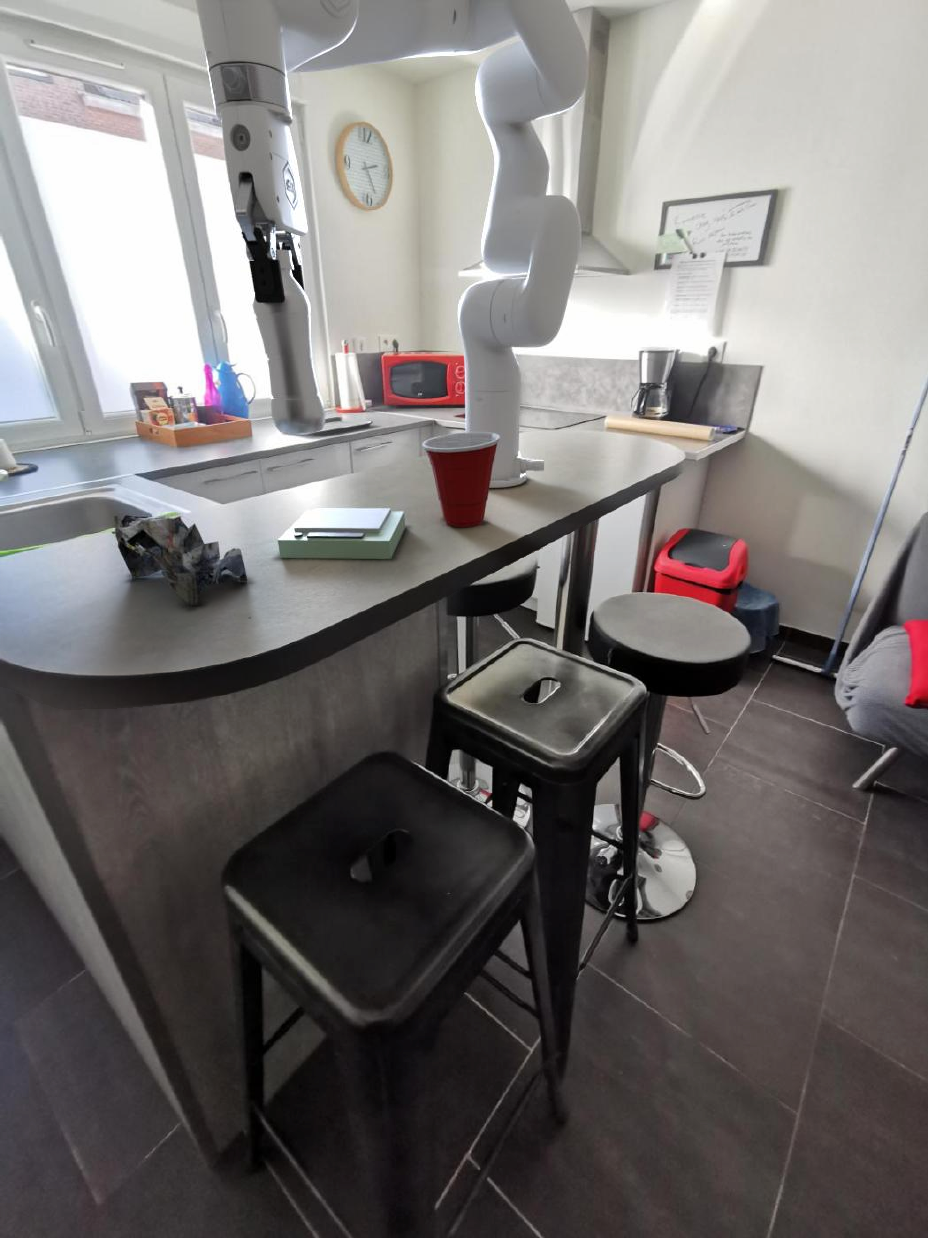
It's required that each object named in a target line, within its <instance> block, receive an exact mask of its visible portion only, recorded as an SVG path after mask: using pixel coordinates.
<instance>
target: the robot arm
mask: <svg viewBox="0 0 928 1238" xmlns="http://www.w3.org/2000/svg"><path fill="white" fill-rule="evenodd" d="M195 3H196V8H197V9H196V10H197V14H198V15H197V16H198V19H199V20H198V21H199V25H200V31H201V37H202V42H203V49H204V55H205V59H206V65H207V72H208V78H209V84H210V90H211V95H212V100H213V106H214V111H215V117H216V119H217V121H220V124H221V134H222V143H223V153H224V159H225V168H226V174H227V175H226V176H227V181H228V188H229V193H230V199H231V204H232V208H233V213H234V216H235V220H236V222H237V223H238V225H239V228H240V230H241V233H240V234H241V235H242V236H241V237H242V239H243V241H244V242H245V254H246V257H247V259H248V263H249V270H250V275H251V280H252V287H253V294H254V293H255V299H256V301H257V302H258V303H282V302H284V301H285V295H284V288H283V281H282V274H281V267H280V261H279V260H272V259H275V250H289V251H290V253H291V258H292V265H293V266H294V270H291V272H292V276H293V277H294V279H295V280H296V281H297V283H298V284H299V285H300V286H301V288H302V289H303V291H304V293H305V294H306V289H305V283H304V276H303V275H304V274H303V267H302V256H301V254H300V249H301V245H300V237H305V236H306V235H307V233H308V223H307V216H306V210H305V204H304V198H303V191H302V183H301V180H300V179H301V178H300V173H299V166H298V162H297V158H296V152H295V147H294V144H293V139H292V135H291V131H290V128H289V127H290V126H291V125H292V124H293V115H292V107H291V106H292V105H291V98H290V91H289V90H290V89H289V81H288V75H287V74H294V73H295V74H296V73H312V72H313V73H314V72H323V71H324V72H325V71H332V70H337V69H338V70H339V69H343V68H350V67H354V66H355V67H356V66H361V65H362V66H363V65H371V64H382V63H388V62H394V61H397V60H401V59H410V58H422V57H438V56H439V57H440V56H441V57H442V56H459V55H471V54H475V53H477V52H480V51H481V52H482V51H484V50H485V49H488V48H490V47H494V46H496V45H498V44H501V43H503V42H506V41H508V40H511V39H513V38H515V37H518V38H519V39H520V40H517V41H515V42H513V43H510V44H508V45H505V46H503V47H501V48H499V49H497V50H495V51H494V52H492V53H490V54H489V55H488V56H487V57H486V58H485V59H484V60H483V61H482V63H480V66H479V68H478V70H477V74H476V79H475V96H476V97H475V99H476V103H477V108H478V112H479V115H480V116H481V119H482V121H483V124H484V126H485V128H486V131H487V134H488V137H489V140H490V143H491V146H492V151H493V156H494V172H493V180H492V185H491V190H490V195H489V201H488V204H487V205H488V206H487V210H486V216H485V220H484V226H483V231H482V237H481V248H480V250H481V251H480V252H481V258H482V261H483V263H484V265H485V267H486V268H487V269H488V270H490V271H491V272H493V273H496V274H500V275H524V274H525V275H526V274H527V276H526V277H506V278H495V279H494V278H493V279H484V280H480V281H478V282H475V283H473V284H472V285H470V286H469V287H467V288H466V290H465V291H464V292H463V294H462V295H461V297H460V300H459V301H458V308H457V321H458V322H457V323H458V329H459V334H460V338H461V345H462V351H463V362H464V363H463V364H464V409H465V410H464V412H465V413H464V415H465V417H464V420H465V423H464V424H465V425H464V426H465V429H464V431H465V433H466V432H489V433H495V434H498V435H500V439H499V442H498V443H497V447H496V452H495V457H494V462H493V467H492V474H491V480H490V487H489V489H500V488H509V487H511V488H512V487H515V486H519V485H522V484H523V483H525V482H526V481H527V471H528V472H529V471H530V472H531V471H533V472H544V471H545V460H544V459H543V460H542V459H537V458H524V457H522V456H521V451H519V450H520V449H519V448H520V421H521V420H520V419H521V392H522V391H521V389H522V388H521V387H522V374H521V368H520V364H519V362H518V358H517V356H516V354H515V351H514V350H513V348H543V347H546V346H547V345H549V344H550V343H552V342H553V341H554V340H555V338H556V337H557V336H558V335H559V332H560V330H561V327H562V325H563V321H564V318H565V313H566V310H567V306H568V303H569V298H570V293H571V289H572V285H573V282H574V281H573V280H574V277H575V272H576V269H577V264H578V259H579V255H580V251H581V250H580V249H581V243H582V223H581V219H580V213H579V211H578V209H577V207H576V205H575V203H574V202H573V201H572V200H571V199H570V198H568V197H567V196H565V195H562V194H548V193H547V192H548V188H549V183H550V176H551V167H550V166H551V165H550V161H549V157H548V154H547V151H546V149H545V147H544V145H543V144H542V142H541V139H540V138H539V135H538V134H537V132H536V130H535V128H534V125H533V123H532V122H533V121H536V120H540V119H543V118H547V117H551V116H554V115H559V114H562V113H564V112H566V111H568V110H571V109H572V108H573V107H574V106H575V105H577V103H579V101H580V100H581V98H582V97H583V95H584V93H585V90H586V88H587V83H588V80H589V79H588V77H589V58H588V51H587V48H586V44H585V40H584V38H583V35H582V32H581V30H580V27H579V25H578V23H577V22H576V20H575V18H574V14H573V13H572V11H571V9H570V7H569V5H568V3H567V1H566V0H195ZM280 243H281V245H280Z"/></svg>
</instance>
